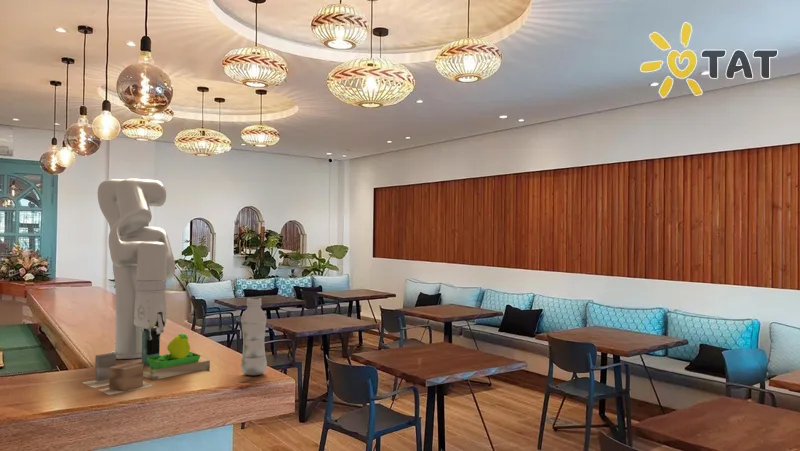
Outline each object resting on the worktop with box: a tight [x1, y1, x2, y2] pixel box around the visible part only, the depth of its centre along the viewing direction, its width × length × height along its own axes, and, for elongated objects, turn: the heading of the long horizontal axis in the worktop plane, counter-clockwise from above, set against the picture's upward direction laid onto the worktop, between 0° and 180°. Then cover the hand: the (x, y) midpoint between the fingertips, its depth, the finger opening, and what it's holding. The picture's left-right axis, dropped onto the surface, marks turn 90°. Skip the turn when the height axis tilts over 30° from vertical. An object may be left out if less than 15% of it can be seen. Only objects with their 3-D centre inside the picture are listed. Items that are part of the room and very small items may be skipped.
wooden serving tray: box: [134, 330, 211, 381], centre depth 146 cm, size 18×15×10 cm
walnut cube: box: [108, 362, 144, 393], centre depth 127 cm, size 5×5×5 cm
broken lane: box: [82, 352, 154, 396], centre depth 130 cm, size 16×10×7 cm, turn 50°
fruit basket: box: [147, 333, 201, 371], centre depth 143 cm, size 11×9×11 cm
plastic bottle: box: [240, 297, 268, 377], centre depth 144 cm, size 6×7×20 cm
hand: (150, 352), depth 151 cm, fingers closed on wooden serving tray, 2 cm apart
